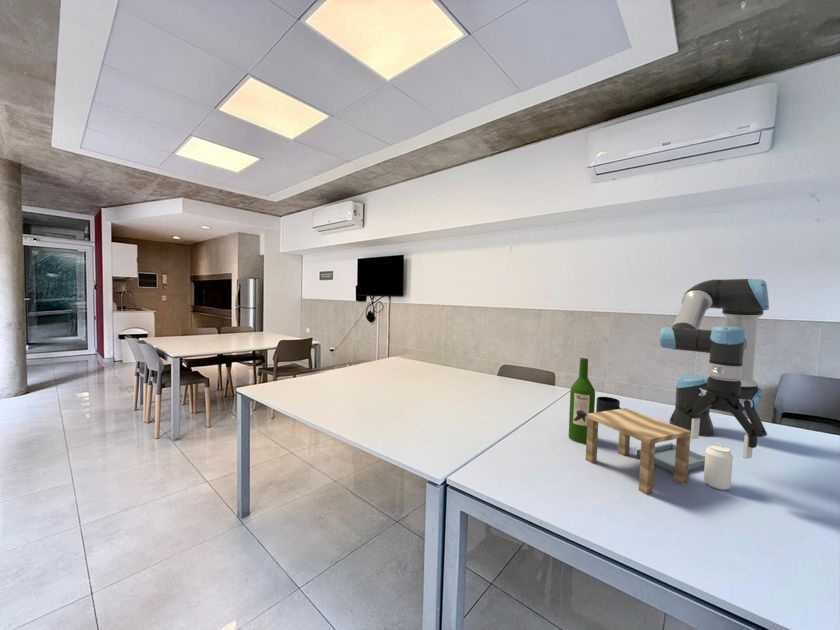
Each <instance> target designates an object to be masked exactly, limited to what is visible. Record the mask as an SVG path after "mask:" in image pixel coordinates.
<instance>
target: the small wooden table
mask: <svg viewBox="0 0 840 630" xmlns="http://www.w3.org/2000/svg"><path fill="white" fill-rule="evenodd" d="M599 424H600V425H603V426H605V427H608V428H609V429H612V430H614V431H617V432H618V433H619V434H618V452H617V453H618V454H620V455H622V456H624V457H625V456H629V455H630V445H631V443H630V440H631V438H634V439H635V440H638V441H641V443H640V449H641V457H640V458H639V460H640V461H639V476H638V477H639V479H638V480H639V481H638V491H639V492H641V493H643V494H644V495H649V494H650V495H651V494H653V486H654V485H653V484H654V471H655V469H654V454H655V446H656V444H658V443H664V442H668V441H673V440H676V441H675V442H676V443H675V445H676V457H675V473H674V475H673V481H674V482H676V483H678V484H680V485H686V484H688V481H689V480H688V478H689V472H688V466H689V451H691V449H690V447H691V431H689V430H686V429H683V428H680V427H678V426H675V425H672V424H669V422H666V421H663V420H661V419H658V418H655V417H651V416H650V415H646V414H644V413H640V412H637V411H635V410H632V409H628V408H627V407H624V408H621V409H616V410H609V411H603V412H596V411H595V412H594V413H589V414H588V420H587V442H586V443H585V446H586V447H585V449H586V450H585V460H586V461H588V462H589V463H591V464H592V463H593V464H594V463H597V460H598V459H597V458H598V439H599Z"/></svg>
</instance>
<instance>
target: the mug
mask: <svg viewBox="0 0 840 630" xmlns="http://www.w3.org/2000/svg"><path fill="white" fill-rule="evenodd" d="M620 405H621V403H620V400H619V399H617V398H614V397H612V396H611V397H610V396H598V397H596V405H595V406H596V410H595V413H596V412H603V411H609V410H616V409H622V407H620Z"/></svg>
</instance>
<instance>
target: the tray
mask: <svg viewBox="0 0 840 630" xmlns="http://www.w3.org/2000/svg"><path fill="white" fill-rule="evenodd" d="M640 457H641V448H640V449H636V458H638V459H640ZM675 457H676V443H671V442H669V443H665V444H661V445H660V444H659V445H655V454H654V466H655V467H657V468H658V469H661V470H663V471H665V472H667V473H669V474H671V475H672V476H674V473H675ZM704 468H705V456H704V455H702V454H699V453H697V452H695V451H692V450H690V451H689V466H688V473H689V472H692V471H695V470H699V469H704Z"/></svg>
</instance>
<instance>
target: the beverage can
mask: <svg viewBox="0 0 840 630" xmlns="http://www.w3.org/2000/svg"><path fill="white" fill-rule="evenodd" d="M704 455H705V467H704V468H703V470H704V471H703V481H704V483H706V484H707V485H708V486H709V487H710V488H713V489H716V490H720V491H721V490H722V491H725V490H729V489H730V488H731V485H732V475H733V473H732V471H733V460H734V459H733V458H734V456H733V454H732V452H731V449H730V448H728V447H726V446H724V445H720V444H716V443H715V444H714V443H713V444H712V443H711V444H708V447H707V448H706V449H705V454H704Z"/></svg>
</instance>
